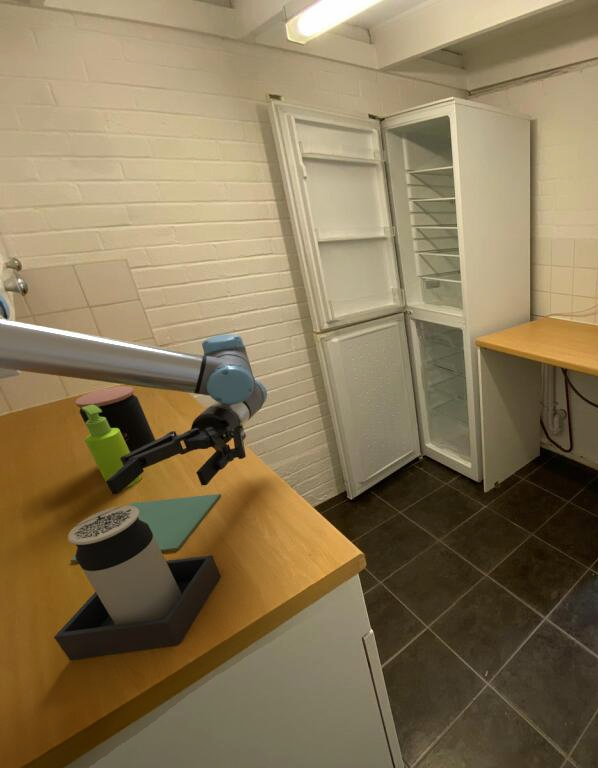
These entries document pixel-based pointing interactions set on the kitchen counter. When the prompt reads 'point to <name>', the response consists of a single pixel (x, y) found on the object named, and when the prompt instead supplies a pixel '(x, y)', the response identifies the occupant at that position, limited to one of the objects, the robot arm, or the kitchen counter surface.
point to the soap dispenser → (105, 444)
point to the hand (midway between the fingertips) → (156, 483)
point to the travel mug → (125, 565)
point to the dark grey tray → (102, 637)
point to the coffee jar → (120, 414)
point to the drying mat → (173, 518)
